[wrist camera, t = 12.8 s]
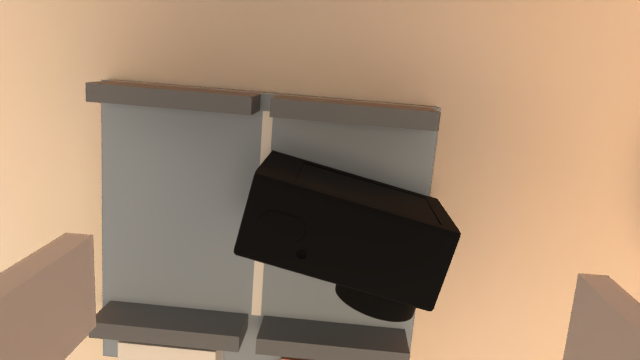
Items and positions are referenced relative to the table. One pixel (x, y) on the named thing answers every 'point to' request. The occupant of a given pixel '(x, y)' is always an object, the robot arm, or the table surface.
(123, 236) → the docking board
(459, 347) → the table surface
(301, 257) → the digital camera
